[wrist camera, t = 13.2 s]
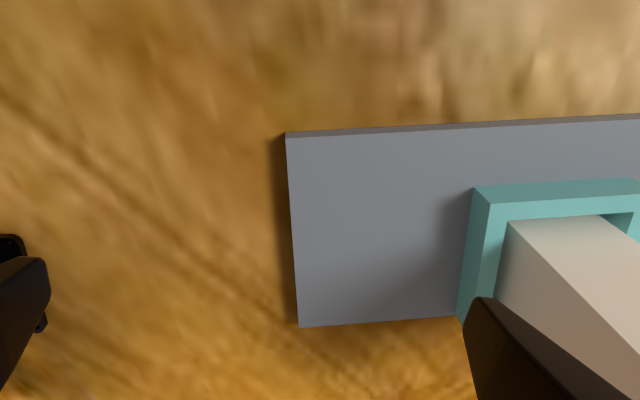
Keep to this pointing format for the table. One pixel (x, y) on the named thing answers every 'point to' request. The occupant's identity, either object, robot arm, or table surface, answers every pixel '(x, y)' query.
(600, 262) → the column
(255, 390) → the table surface
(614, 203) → the baseplate
